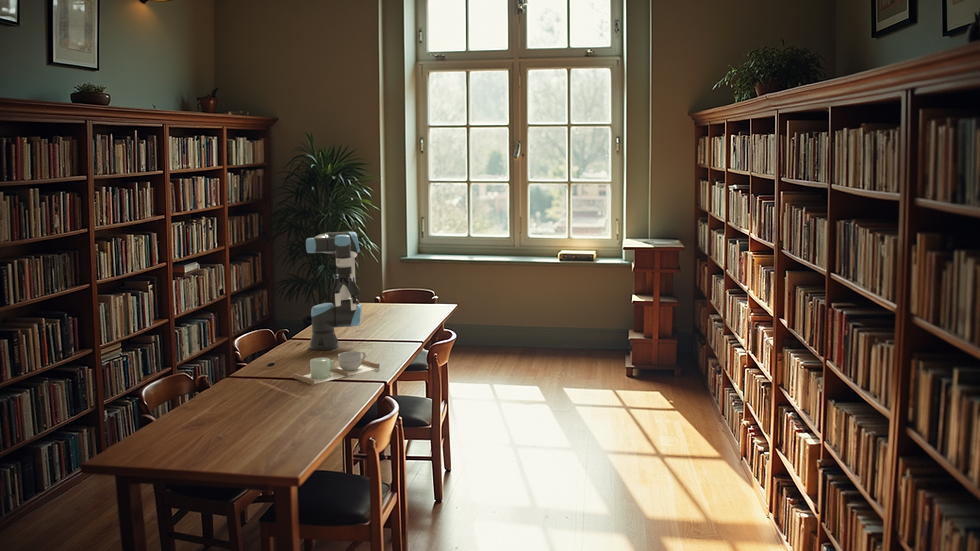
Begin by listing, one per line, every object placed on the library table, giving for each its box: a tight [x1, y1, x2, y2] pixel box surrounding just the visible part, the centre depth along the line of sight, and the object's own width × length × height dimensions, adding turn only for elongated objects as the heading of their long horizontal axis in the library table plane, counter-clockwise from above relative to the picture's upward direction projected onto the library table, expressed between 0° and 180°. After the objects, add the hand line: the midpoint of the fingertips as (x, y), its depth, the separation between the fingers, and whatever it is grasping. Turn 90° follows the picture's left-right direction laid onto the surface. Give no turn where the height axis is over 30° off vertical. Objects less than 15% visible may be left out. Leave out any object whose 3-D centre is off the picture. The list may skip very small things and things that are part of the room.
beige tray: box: [293, 359, 381, 386], centre depth 393 cm, size 16×37×3 cm, turn 134°
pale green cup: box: [309, 357, 335, 380], centre depth 387 cm, size 9×12×8 cm
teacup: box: [337, 350, 367, 371], centre depth 399 cm, size 14×11×8 cm
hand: (345, 308), depth 419 cm, fingers open, 13 cm apart
